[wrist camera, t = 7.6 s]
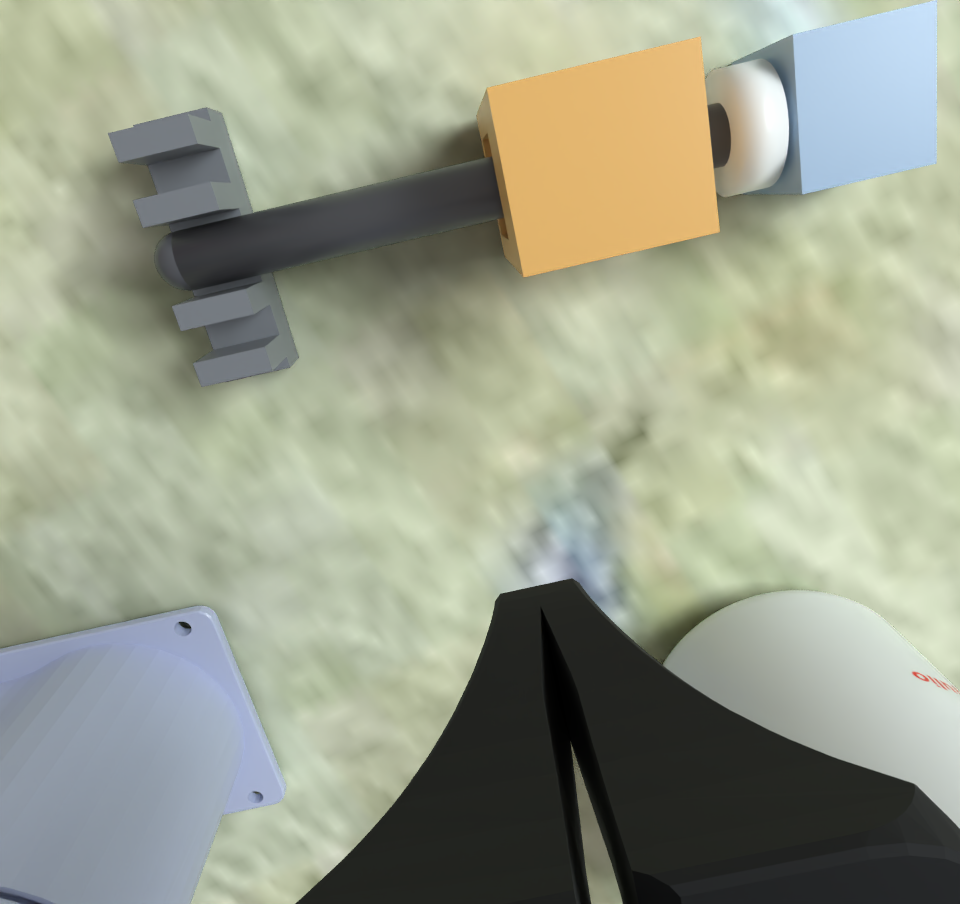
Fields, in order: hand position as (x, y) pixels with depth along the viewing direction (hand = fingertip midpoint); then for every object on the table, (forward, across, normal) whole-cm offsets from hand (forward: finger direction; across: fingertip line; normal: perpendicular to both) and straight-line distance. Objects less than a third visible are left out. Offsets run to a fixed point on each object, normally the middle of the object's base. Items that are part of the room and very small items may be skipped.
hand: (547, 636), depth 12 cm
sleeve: (+10, -3, -7) cm, 13 cm away
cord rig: (+10, -1, -7) cm, 12 cm away
